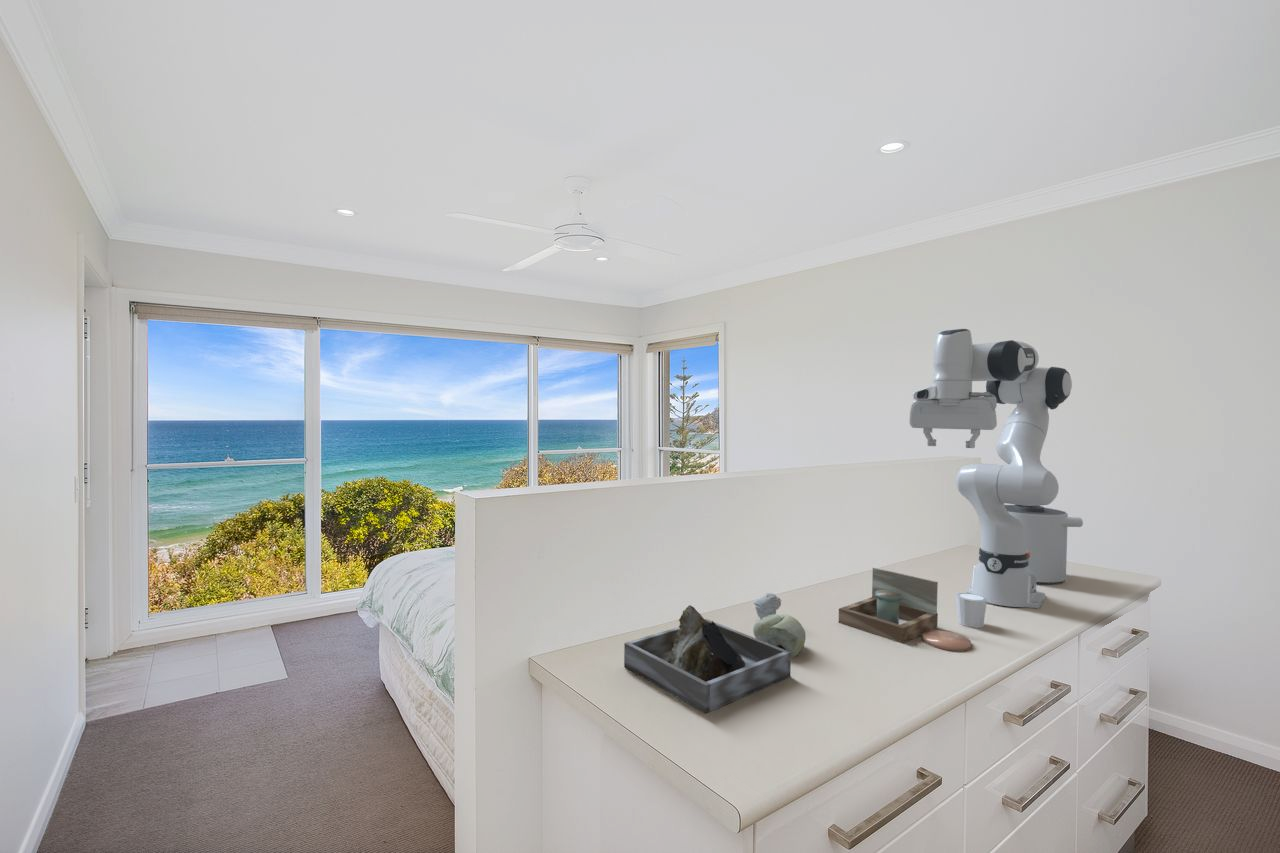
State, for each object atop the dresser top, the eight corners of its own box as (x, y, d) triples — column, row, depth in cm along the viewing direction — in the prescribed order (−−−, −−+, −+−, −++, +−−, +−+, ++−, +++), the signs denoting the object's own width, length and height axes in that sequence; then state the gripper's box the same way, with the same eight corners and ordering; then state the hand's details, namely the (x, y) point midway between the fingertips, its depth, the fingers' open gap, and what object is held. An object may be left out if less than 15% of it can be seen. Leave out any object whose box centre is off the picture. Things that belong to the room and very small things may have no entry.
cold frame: (874, 608, 161) (875, 567, 161) (937, 627, 148) (938, 581, 148) (838, 622, 151) (839, 577, 150) (903, 643, 137) (904, 594, 137)
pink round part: (934, 631, 145) (934, 627, 145) (978, 644, 137) (978, 639, 137) (914, 640, 139) (914, 636, 139) (959, 654, 131) (959, 650, 131)
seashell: (745, 612, 136) (775, 599, 142) (745, 643, 137) (775, 629, 143) (788, 634, 126) (819, 619, 131) (788, 668, 127) (818, 652, 133)
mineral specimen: (766, 645, 125) (735, 618, 114) (741, 718, 119) (705, 697, 108) (712, 625, 134) (679, 598, 122) (686, 692, 128) (648, 670, 117)
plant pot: (882, 618, 153) (883, 588, 153) (905, 625, 149) (905, 593, 149) (870, 623, 150) (870, 592, 150) (892, 630, 145) (893, 598, 145)
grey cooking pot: (1043, 568, 206) (1045, 502, 205) (1082, 586, 185) (1085, 512, 184) (978, 566, 208) (980, 500, 207) (1010, 583, 187) (1012, 510, 186)
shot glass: (990, 629, 147) (991, 601, 146) (960, 627, 148) (961, 599, 148) (980, 620, 153) (981, 593, 153) (951, 618, 155) (952, 591, 155)
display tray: (706, 640, 138) (706, 618, 138) (790, 676, 119) (790, 652, 119) (624, 666, 123) (624, 643, 123) (705, 713, 104) (706, 685, 104)
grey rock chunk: (781, 625, 148) (781, 598, 148) (752, 623, 150) (753, 595, 149) (781, 617, 154) (781, 591, 154) (753, 615, 155) (754, 588, 155)
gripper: (1002, 392, 144) (1000, 449, 144) (918, 393, 160) (917, 444, 160) (991, 391, 140) (989, 449, 140) (907, 393, 156) (905, 445, 156)
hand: (950, 447), depth 150 cm, fingers open, 8 cm apart
